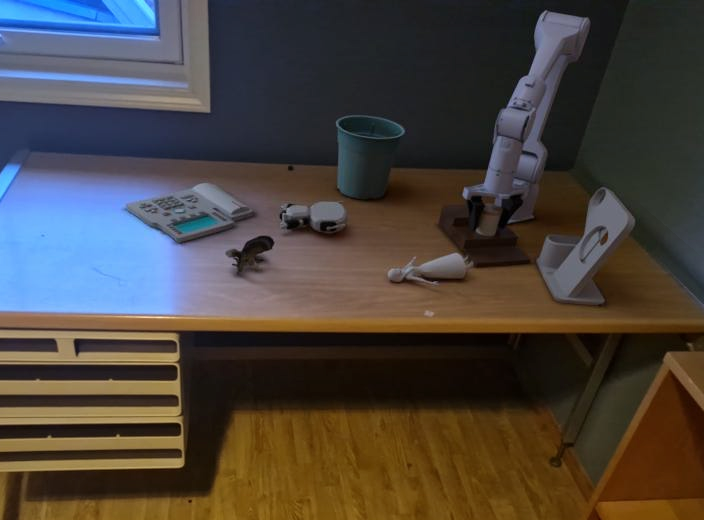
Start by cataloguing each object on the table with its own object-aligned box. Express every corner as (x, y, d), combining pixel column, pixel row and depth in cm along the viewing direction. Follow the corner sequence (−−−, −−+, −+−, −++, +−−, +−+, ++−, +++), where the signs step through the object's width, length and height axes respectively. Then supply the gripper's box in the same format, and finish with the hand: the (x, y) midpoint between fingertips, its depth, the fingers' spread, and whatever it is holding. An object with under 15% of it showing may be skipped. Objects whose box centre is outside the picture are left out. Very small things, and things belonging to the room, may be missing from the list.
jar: (486, 225, 149) (492, 202, 145) (500, 234, 145) (507, 210, 142) (470, 228, 146) (476, 205, 143) (484, 237, 143) (491, 214, 140)
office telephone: (211, 177, 159) (263, 208, 148) (211, 188, 160) (262, 219, 149) (124, 198, 146) (174, 233, 135) (125, 209, 147) (174, 245, 136)
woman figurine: (485, 268, 129) (400, 281, 125) (481, 287, 132) (398, 300, 128) (458, 240, 138) (378, 251, 134) (455, 258, 141) (376, 270, 137)
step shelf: (437, 225, 154) (442, 205, 150) (487, 222, 157) (493, 202, 154) (475, 267, 139) (481, 246, 136) (529, 263, 142) (536, 242, 139)
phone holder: (534, 258, 144) (560, 180, 133) (580, 262, 144) (609, 184, 133) (555, 302, 130) (586, 218, 119) (606, 306, 130) (641, 222, 119)
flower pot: (369, 173, 175) (377, 111, 165) (407, 198, 164) (419, 133, 154) (316, 182, 168) (322, 118, 158) (353, 208, 157) (361, 141, 147)
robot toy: (278, 240, 143) (347, 241, 143) (277, 221, 140) (348, 221, 140) (280, 215, 153) (345, 216, 153) (280, 197, 150) (346, 197, 150)
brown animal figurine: (263, 278, 126) (282, 251, 132) (242, 247, 123) (264, 221, 129) (235, 285, 131) (255, 259, 137) (215, 256, 128) (236, 231, 134)
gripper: (479, 176, 132) (464, 237, 141) (543, 174, 136) (524, 234, 144) (464, 163, 138) (450, 222, 146) (525, 161, 141) (508, 219, 149)
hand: (486, 227), depth 145 cm, fingers open, 6 cm apart
